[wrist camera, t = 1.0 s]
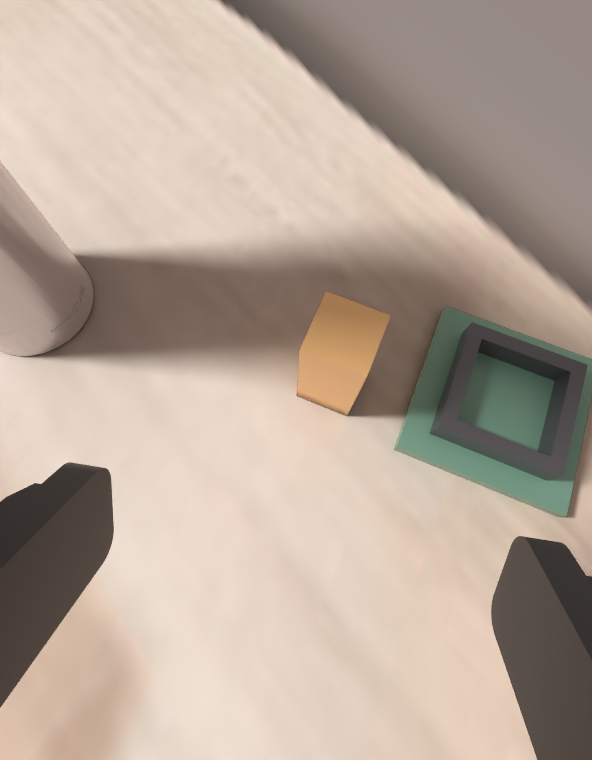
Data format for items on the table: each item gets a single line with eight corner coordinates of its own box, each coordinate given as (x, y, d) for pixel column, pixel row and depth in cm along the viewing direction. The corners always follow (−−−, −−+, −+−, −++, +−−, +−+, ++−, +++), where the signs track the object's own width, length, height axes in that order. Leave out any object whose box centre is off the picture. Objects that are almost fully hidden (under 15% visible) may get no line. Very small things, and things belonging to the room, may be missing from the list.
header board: (393, 449, 32) (404, 441, 29) (441, 311, 36) (454, 293, 33) (558, 516, 31) (585, 515, 28) (590, 366, 34) (617, 352, 31)
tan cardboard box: (296, 395, 33) (299, 349, 25) (316, 350, 34) (325, 291, 26) (346, 416, 33) (367, 376, 24) (365, 369, 34) (390, 315, 25)
